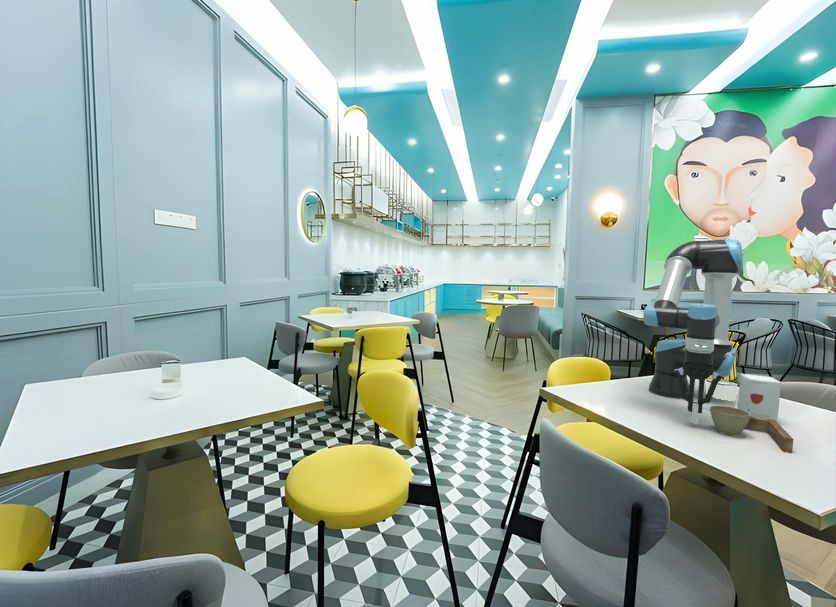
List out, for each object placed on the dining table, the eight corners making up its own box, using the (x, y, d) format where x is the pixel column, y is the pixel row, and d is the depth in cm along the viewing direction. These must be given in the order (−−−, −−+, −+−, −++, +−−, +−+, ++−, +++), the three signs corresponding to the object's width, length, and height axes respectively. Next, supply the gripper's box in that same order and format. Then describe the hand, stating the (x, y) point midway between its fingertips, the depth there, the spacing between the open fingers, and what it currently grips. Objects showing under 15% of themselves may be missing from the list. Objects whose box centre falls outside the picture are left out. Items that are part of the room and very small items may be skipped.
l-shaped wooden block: (737, 442, 115) (738, 429, 115) (727, 424, 131) (727, 412, 131) (792, 453, 109) (793, 439, 109) (774, 432, 125) (775, 420, 125)
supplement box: (744, 420, 135) (747, 378, 134) (736, 413, 143) (739, 373, 142) (778, 425, 131) (782, 382, 130) (768, 417, 139) (771, 376, 138)
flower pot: (711, 424, 131) (713, 403, 130) (750, 433, 124) (752, 411, 123) (705, 431, 124) (707, 409, 123) (746, 441, 117) (748, 418, 116)
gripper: (675, 350, 127) (670, 421, 128) (726, 355, 120) (720, 430, 122) (674, 347, 133) (669, 414, 135) (722, 351, 127) (716, 422, 128)
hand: (693, 422), depth 128 cm, fingers closed
